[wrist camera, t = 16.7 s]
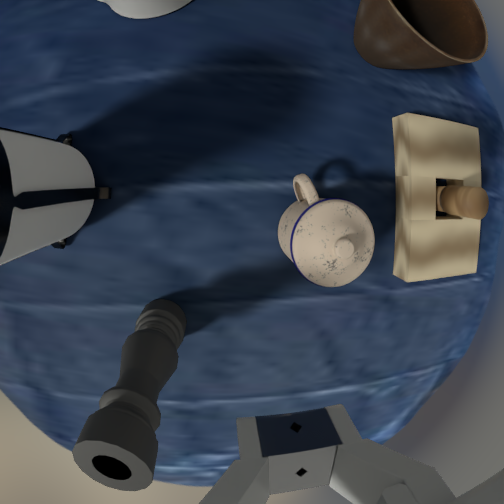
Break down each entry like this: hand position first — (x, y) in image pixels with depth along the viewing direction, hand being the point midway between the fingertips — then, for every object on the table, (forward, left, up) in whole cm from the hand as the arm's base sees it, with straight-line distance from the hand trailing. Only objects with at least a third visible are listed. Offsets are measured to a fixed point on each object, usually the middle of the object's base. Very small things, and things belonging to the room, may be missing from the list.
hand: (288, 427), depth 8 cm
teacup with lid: (-2, +9, -31) cm, 33 cm away
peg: (-5, +29, -31) cm, 43 cm away
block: (-5, +29, -31) cm, 43 cm away
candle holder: (+10, -10, -31) cm, 34 cm away
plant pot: (-27, +21, -31) cm, 46 cm away
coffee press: (-7, -23, -31) cm, 40 cm away
